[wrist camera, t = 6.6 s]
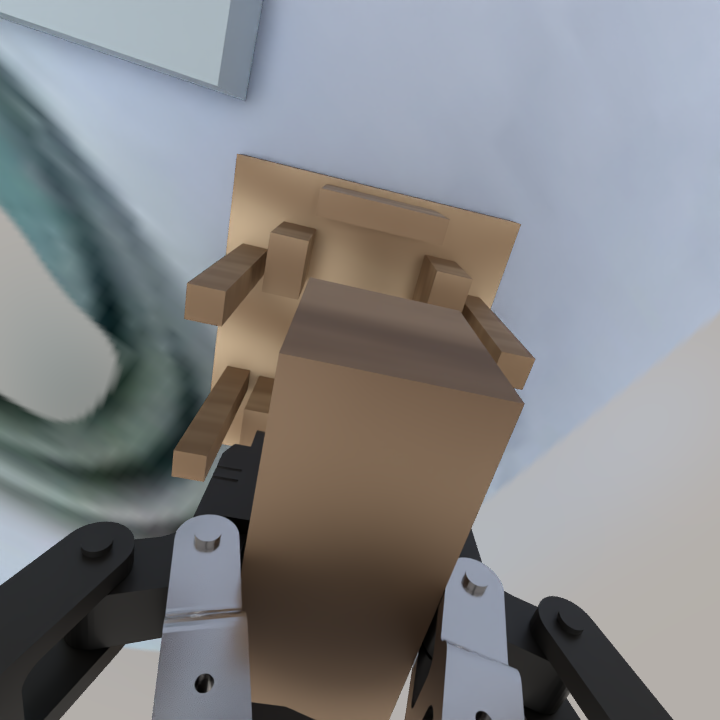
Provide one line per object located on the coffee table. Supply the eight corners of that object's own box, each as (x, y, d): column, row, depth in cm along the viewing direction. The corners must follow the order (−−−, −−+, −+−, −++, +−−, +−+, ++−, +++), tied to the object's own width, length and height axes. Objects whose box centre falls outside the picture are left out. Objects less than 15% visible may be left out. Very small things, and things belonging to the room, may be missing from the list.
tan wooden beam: (310, 277, 11) (278, 353, 7) (459, 310, 12) (524, 403, 7) (252, 581, 16) (209, 752, 11) (364, 598, 16) (367, 771, 12)
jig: (242, 154, 20) (171, 150, 13) (514, 221, 22) (602, 255, 14) (210, 430, 26) (148, 544, 18) (425, 471, 27) (452, 593, 20)
